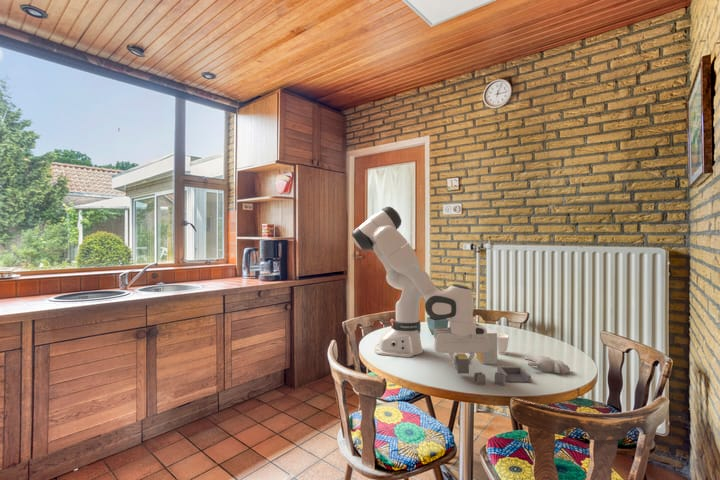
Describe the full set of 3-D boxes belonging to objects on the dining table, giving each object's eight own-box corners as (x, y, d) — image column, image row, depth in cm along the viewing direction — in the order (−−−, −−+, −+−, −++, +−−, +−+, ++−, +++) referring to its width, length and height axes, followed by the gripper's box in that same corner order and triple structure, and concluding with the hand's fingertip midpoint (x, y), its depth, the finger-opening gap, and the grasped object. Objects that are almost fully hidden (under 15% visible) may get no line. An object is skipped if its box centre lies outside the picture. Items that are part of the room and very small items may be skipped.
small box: (475, 357, 151) (475, 328, 151) (490, 357, 151) (490, 328, 151) (482, 364, 143) (482, 333, 143) (497, 364, 143) (497, 333, 143)
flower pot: (426, 333, 190) (426, 317, 190) (440, 331, 192) (440, 315, 192) (434, 337, 181) (434, 320, 181) (449, 336, 184) (449, 319, 184)
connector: (457, 373, 127) (457, 357, 127) (455, 368, 132) (454, 352, 132) (468, 373, 127) (468, 357, 127) (465, 368, 132) (465, 352, 132)
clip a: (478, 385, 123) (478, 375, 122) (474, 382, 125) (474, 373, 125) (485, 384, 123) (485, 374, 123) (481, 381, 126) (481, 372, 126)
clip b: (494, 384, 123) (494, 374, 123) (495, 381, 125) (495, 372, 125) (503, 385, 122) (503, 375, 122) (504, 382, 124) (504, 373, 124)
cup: (509, 356, 152) (509, 338, 152) (485, 353, 156) (485, 335, 156) (509, 351, 158) (509, 334, 158) (486, 348, 162) (486, 332, 162)
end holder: (505, 382, 125) (505, 375, 125) (497, 372, 134) (497, 366, 134) (530, 382, 124) (530, 376, 124) (521, 373, 133) (521, 366, 133)
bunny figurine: (572, 367, 129) (529, 358, 133) (571, 380, 129) (527, 371, 133) (565, 358, 138) (524, 351, 142) (563, 371, 138) (523, 363, 142)
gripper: (435, 329, 127) (435, 366, 127) (491, 330, 126) (491, 367, 126) (432, 325, 133) (432, 360, 133) (486, 325, 132) (486, 361, 132)
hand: (461, 363), depth 130 cm, fingers closed on connector, 4 cm apart
